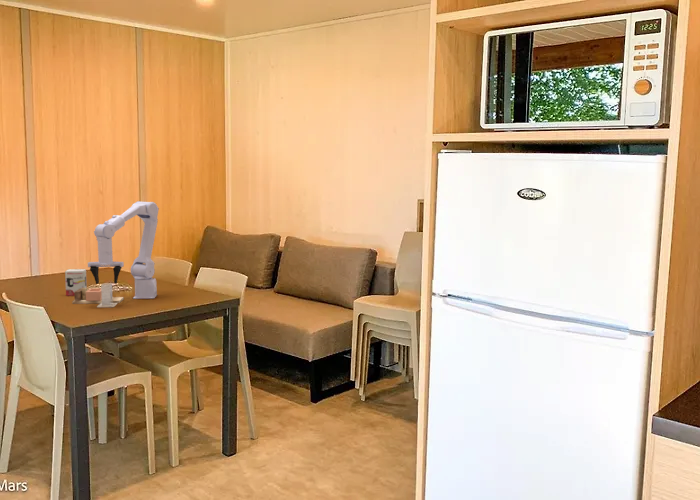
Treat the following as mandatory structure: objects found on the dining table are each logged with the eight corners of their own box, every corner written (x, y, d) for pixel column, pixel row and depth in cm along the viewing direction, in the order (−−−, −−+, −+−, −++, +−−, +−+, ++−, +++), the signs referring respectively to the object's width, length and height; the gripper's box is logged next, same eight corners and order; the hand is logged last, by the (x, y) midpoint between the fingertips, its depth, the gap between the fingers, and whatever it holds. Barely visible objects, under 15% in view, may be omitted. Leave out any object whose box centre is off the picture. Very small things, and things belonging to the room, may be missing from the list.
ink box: (65, 296, 305) (64, 271, 303) (67, 294, 310) (66, 269, 308) (85, 295, 307) (84, 270, 305) (87, 293, 311) (86, 268, 310)
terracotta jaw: (104, 296, 298) (104, 288, 297) (100, 300, 290) (99, 291, 290) (90, 297, 297) (90, 288, 297) (85, 300, 289) (85, 291, 289)
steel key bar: (112, 303, 288) (111, 283, 287) (110, 305, 284) (109, 284, 283) (104, 303, 287) (103, 283, 286) (102, 305, 284) (101, 285, 283)
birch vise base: (123, 299, 299) (123, 286, 298) (119, 302, 291) (119, 289, 290) (77, 299, 297) (77, 286, 296) (72, 303, 289) (71, 290, 288)
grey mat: (117, 303, 290) (117, 302, 290) (113, 307, 283) (113, 306, 283) (101, 303, 289) (101, 303, 289) (96, 307, 282) (96, 306, 282)
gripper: (85, 253, 278) (86, 285, 280) (120, 253, 280) (121, 284, 281) (89, 251, 285) (91, 282, 287) (124, 251, 287) (125, 281, 288)
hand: (106, 283), depth 285 cm, fingers open, 7 cm apart
